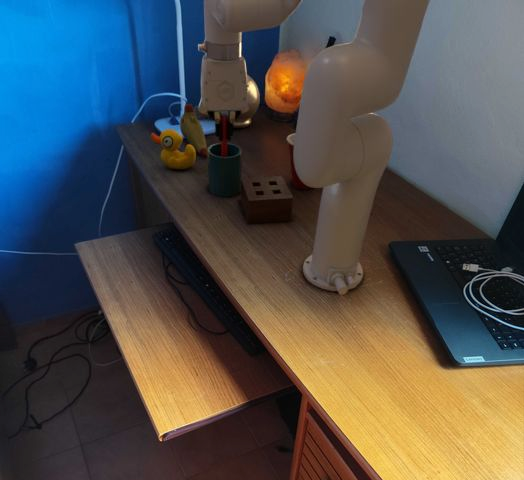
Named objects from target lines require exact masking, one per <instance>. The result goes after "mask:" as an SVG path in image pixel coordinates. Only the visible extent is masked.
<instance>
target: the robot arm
mask: <svg viewBox="0 0 524 480" xmlns="http://www.w3.org/2000/svg"><path fill="white" fill-rule="evenodd" d="M430 1H431V0H364V2H363V4H362V7H361V8H362V9H361V15H360V19H359V23H358V27H357V30H356V33H355V36H354V38H353V39H352V40H351V41H350V42H347V43H346V42H345V43H340V44H336V45H332V46H328V47H326V48H324V49H323V50H321V51H319V52H318V53H317V55H316V56H315V57H314V58H313V59H312V61H311V62H310V64H309V66H308V68H307V70H306V73H305V76H304V79H303V84H302V89H301V95H300V102H299V107H298V114H297V116H298V117H297V122H296V129H295V140H294V150H293V158H294V166H295V170H296V173H297V175H298V177H299V178H300V180H301V181H302V182H303V183H304V184H305V185H307V186H309V187H312V188H313V189H322V192H321V195H320V203H319V208H318V209H319V210H318V216H317V222H316V229H315V235H314V241H313V249H312V253H311V254H310V255H308V257H306V259H305V260H304V261H303V264H302V265H303V266H302V272H303V275H304V277H305V279H306V280H307V281H308V282H309V283H310V284H312V285H313V286H315V287H317V288H320V289H322V290H325V291H331V292H337V293H338V294H339V295H345V294H347V293H348V291H349V290H352V289H355V288H356V287H358V285H360V283H361V282H362V280H363V277H364V268H363V266H362V265H361V263H360V257H361V253H362V248H363V245H364V240H365V236H366V233H367V228H368V224H369V222H370V221H369V220H370V216H371V212H372V208H373V204H374V201H375V197H376V193H377V190H378V187H379V184H380V181H381V180H382V177H383V174H384V172H385V170H386V168H387V165H388V163H389V162H390V161H389V160H390V158H391V156H392V152H393V151H392V150H393V145H394V138H393V137H394V136H393V131H392V129H391V126H390V124H389V123H388V121H387V120H386V119H385V118H384V117H383V116H381V115H379V114H377V113H375V112H378V111H381V110H384V109H386V108H388V107H390V106H391V105H393V104H394V103H395V102H396V101H397V100H398V98H399V96H400V94H401V92H402V90H403V87H404V83H405V81H406V78H407V75H408V72H409V68H410V65H411V62H412V58H413V55H414V52H415V50H416V46H417V43H418V40H419V36H420V33H421V29H422V26H423V23H424V19H425V15H426V13H427V11H428V8H429V7H428V6H429V4H430ZM302 2H303V0H203V17H204V18H203V19H204V41H203V42H202V43H197V49H198V52H202V53H204V55H203V56H202V60H201V65H200V66H201V67H200V100H199V104H198V107H197V110H198V113H200V114H203V115H205V116H206V115H207V116H208V117H210V118H211V120H212V121H214V131H215V132H214V133H215V137H217V138H218V141H219V142H221V141H223V128H222V122H221V113H220V111H228V117H227V142H231V140H232V139H231V138H232V136H234V128H233V123H234V122H235V120H236V119H237V118H238V116H239V115H240V114H243V113H245V112H248V111H249V106H248V103H247V102H248V93H247V75H248V73H247V63H246V59H245V57H244V56H243V55H242V34H243V33H248V32H252V31H259V30H260V31H261V30H268V29H273V28H277V27H278V26H280V25H282V24H283V23H285V21H287V20H288V19H289V18H290V16H292V14H294V13H295V11H296V10H297V9H298V8H299V6H300V5H301V3H302ZM312 188H311V189H312Z"/></svg>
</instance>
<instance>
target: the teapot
mask: <svg viewBox="0 0 524 480" xmlns="http://www.w3.org/2000/svg"><path fill="white" fill-rule="evenodd" d="M258 87H259V86H258V85H257V83H256V81H255V80H254V79H253V78H252V77H251V76H250V75H249V74H247V93H248V102H247V103H248V106H249V111H248V112H245V113H243V114H240V115H239V116H238V118H237V119H236V120H235V122H234V123H233V129H245V128H247V127H249V126H250V125H251V123H252V117H253V116H254V115H255V114H256V112H257V111H258V108H259V105H260V100H261V99H260V98H261V97H260V95H261V94H260V89H259V88H258ZM221 114H227V117H228V111H220V115H221Z"/></svg>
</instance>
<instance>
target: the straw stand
mask: <svg viewBox="0 0 524 480" xmlns="http://www.w3.org/2000/svg"><path fill="white" fill-rule="evenodd" d="M293 202H294V197H293V194H292V192H291V189H290V188H289V186H288V185H287V182H286V180H285V179H284V176H283V175H282V176H279V175H278V176H263V177H245V178H241V191H240V205H241V207H242V211H243V214H244V215H245V219H246V222H247V224H248V225H252V224H253V225H254V224H264V223H265V224H266V223H280V222H291V220H292V212H293Z"/></svg>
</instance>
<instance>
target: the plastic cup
mask: <svg viewBox="0 0 524 480" xmlns="http://www.w3.org/2000/svg"><path fill="white" fill-rule="evenodd" d="M295 133H296V132H295ZM295 133H291V134H289V135H288V136H287V137H286V142H287V144H288V151H289V158H290V159H289V161H290V162H289V163H290V172H291V181H292V186H293V187H294V188H296V189H300V190H309V189H312V187H309V186H307V185H305V184H304V183H303V182H302V181H301V180H300V178H299V177H298V175H297V173H296V170H295V166H294V158H293V150H294V140H295Z"/></svg>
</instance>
